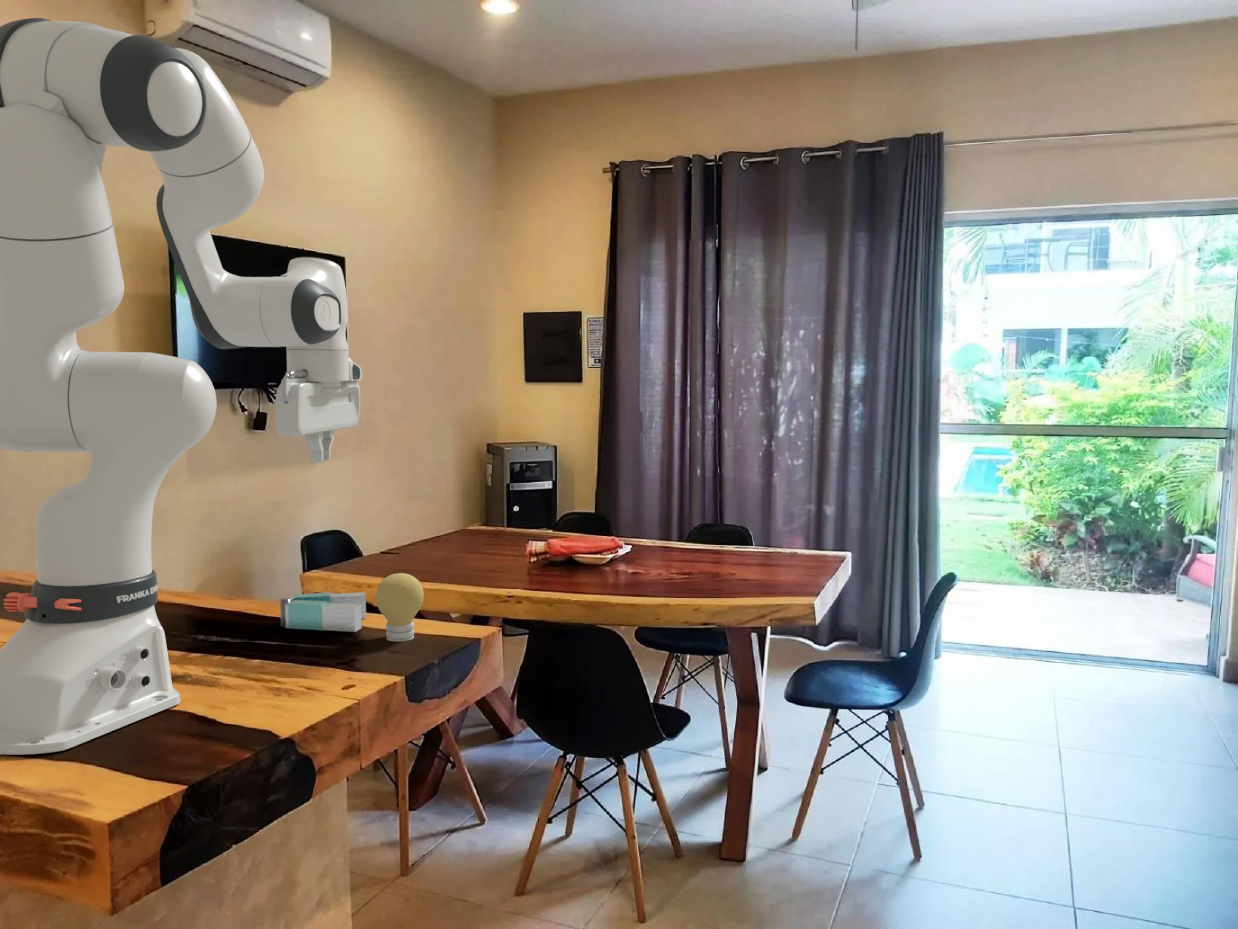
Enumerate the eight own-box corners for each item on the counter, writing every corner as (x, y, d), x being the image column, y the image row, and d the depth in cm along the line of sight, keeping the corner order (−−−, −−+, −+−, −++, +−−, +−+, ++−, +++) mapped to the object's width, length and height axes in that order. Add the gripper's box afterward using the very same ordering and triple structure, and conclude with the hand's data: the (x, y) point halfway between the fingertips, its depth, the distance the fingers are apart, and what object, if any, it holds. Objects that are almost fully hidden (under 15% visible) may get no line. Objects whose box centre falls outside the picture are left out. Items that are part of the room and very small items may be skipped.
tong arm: (365, 618, 133) (365, 593, 133) (290, 623, 130) (290, 598, 130) (365, 614, 135) (365, 590, 135) (291, 619, 132) (291, 594, 132)
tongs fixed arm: (355, 632, 126) (354, 604, 126) (277, 628, 128) (276, 600, 127) (361, 628, 128) (361, 601, 128) (285, 624, 130) (284, 597, 130)
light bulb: (375, 653, 120) (373, 579, 119) (377, 640, 126) (376, 569, 125) (424, 651, 121) (423, 577, 120) (424, 637, 127) (423, 568, 126)
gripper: (303, 370, 124) (306, 470, 125) (366, 369, 144) (368, 455, 146) (261, 370, 125) (264, 469, 126) (329, 368, 145) (331, 453, 146)
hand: (320, 461), depth 136 cm, fingers closed
